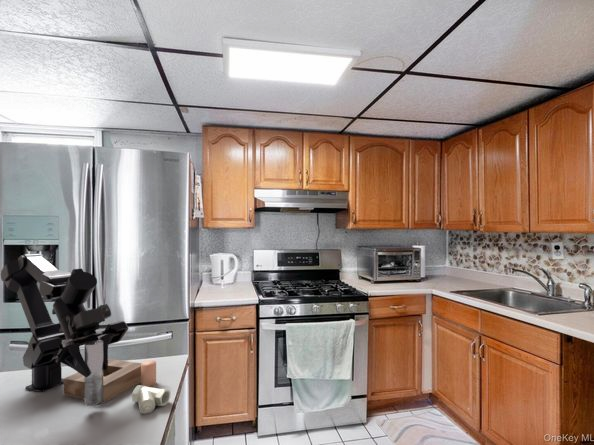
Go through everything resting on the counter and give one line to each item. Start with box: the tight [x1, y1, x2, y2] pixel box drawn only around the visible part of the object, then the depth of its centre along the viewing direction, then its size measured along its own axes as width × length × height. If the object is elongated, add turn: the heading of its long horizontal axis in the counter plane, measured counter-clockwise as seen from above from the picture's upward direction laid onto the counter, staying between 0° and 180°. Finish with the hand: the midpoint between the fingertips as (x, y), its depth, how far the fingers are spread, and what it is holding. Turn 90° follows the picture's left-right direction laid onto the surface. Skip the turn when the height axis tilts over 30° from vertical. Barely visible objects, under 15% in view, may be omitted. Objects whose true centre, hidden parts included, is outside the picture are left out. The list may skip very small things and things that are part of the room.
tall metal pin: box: [84, 340, 103, 406], centre depth 74 cm, size 4×4×13 cm
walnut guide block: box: [63, 358, 143, 403], centre depth 86 cm, size 13×13×4 cm
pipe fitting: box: [131, 384, 171, 415], centre depth 75 cm, size 8×4×7 cm
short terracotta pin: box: [140, 360, 157, 388], centre depth 86 cm, size 4×4×6 cm
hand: (97, 372), depth 73 cm, fingers closed on tall metal pin, 4 cm apart
